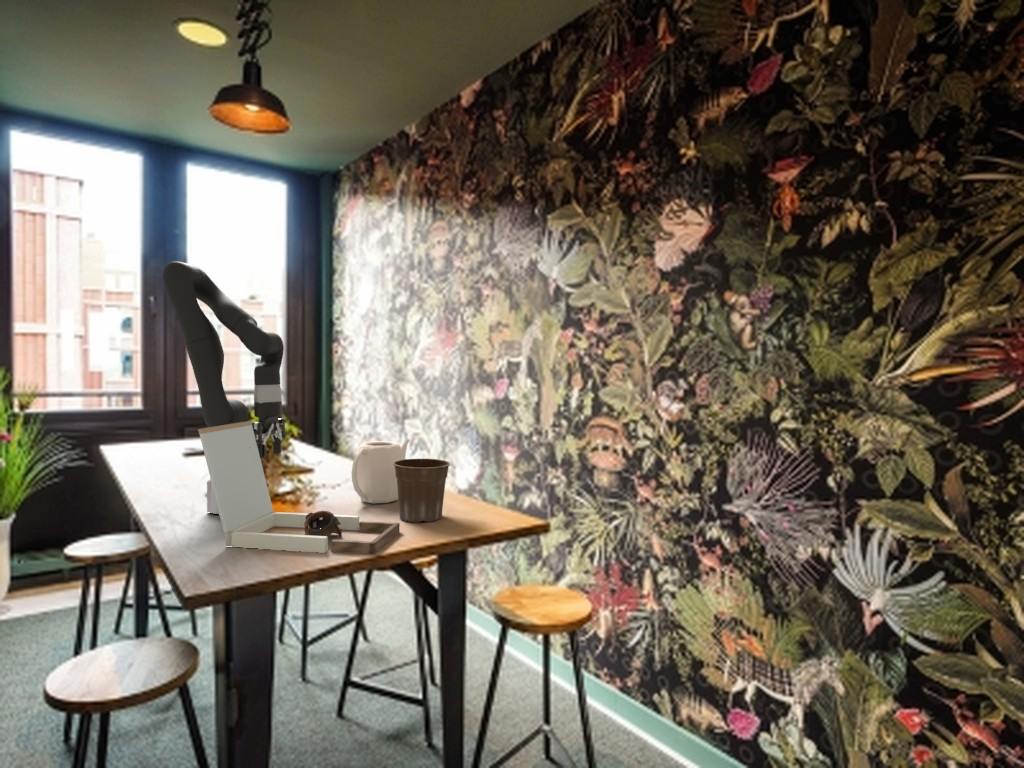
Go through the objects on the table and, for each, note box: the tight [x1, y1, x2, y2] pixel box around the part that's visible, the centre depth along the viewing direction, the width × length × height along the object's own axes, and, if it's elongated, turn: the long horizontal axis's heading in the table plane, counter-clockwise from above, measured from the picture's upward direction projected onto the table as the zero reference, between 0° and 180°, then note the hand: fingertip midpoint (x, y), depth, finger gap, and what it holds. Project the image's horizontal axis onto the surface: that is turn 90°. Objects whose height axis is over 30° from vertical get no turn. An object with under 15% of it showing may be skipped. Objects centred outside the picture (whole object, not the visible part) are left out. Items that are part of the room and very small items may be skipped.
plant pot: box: [393, 458, 451, 523], centre depth 174 cm, size 16×16×16 cm
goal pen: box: [330, 520, 400, 555], centre depth 150 cm, size 11×18×2 cm, turn 172°
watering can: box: [351, 438, 410, 505], centre depth 196 cm, size 16×27×19 cm, turn 150°
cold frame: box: [197, 420, 360, 554], centre depth 152 cm, size 32×21×28 cm, turn 82°
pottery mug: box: [303, 510, 343, 537], centre depth 151 cm, size 12×10×8 cm
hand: (269, 455), depth 175 cm, fingers open, 8 cm apart
